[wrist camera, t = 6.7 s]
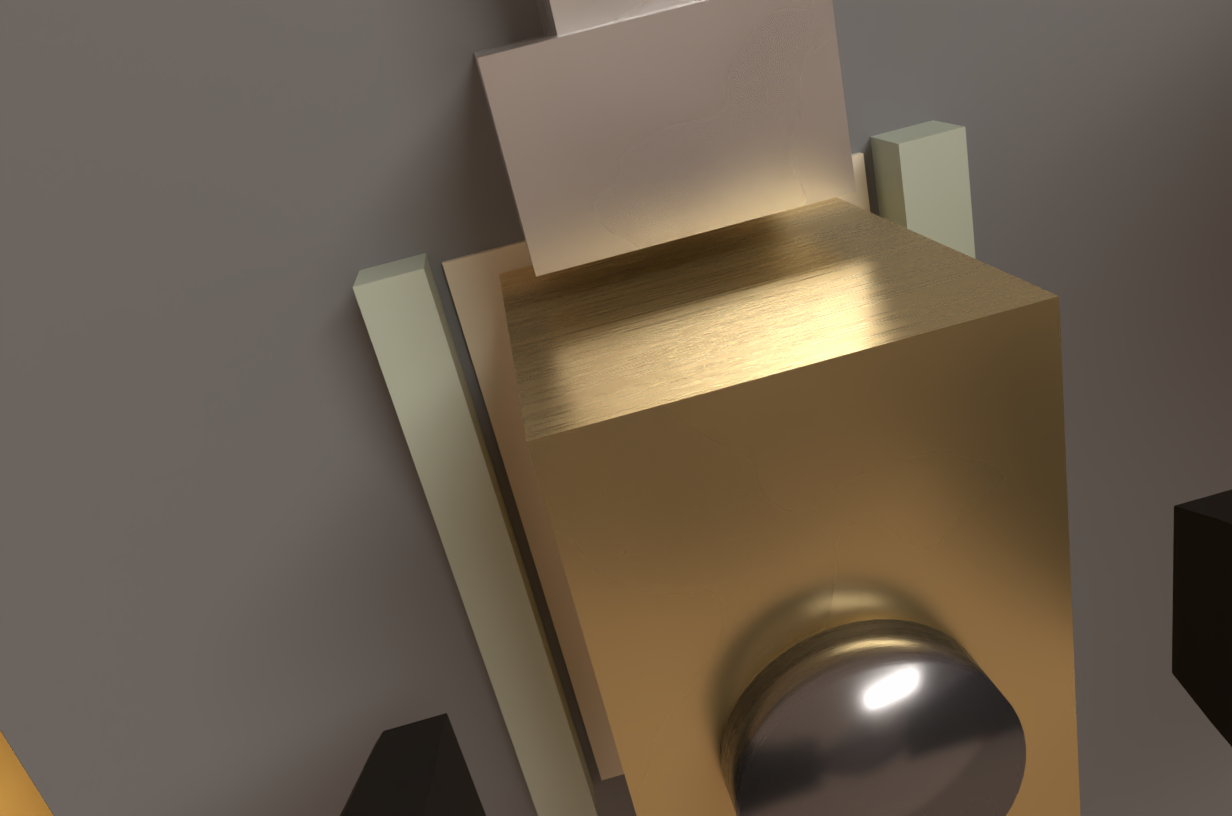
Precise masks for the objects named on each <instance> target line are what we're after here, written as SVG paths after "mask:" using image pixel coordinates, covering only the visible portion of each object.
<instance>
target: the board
mask: <svg viewBox="0 0 1232 816" xmlns="http://www.w3.org/2000/svg"><path fill="white" fill-rule="evenodd" d="M832 3H833V11H834V19H835V27H836V35H837V43H838V51H839V59H840V67H841V75H842V83H843V91H844V99H845V107H846V115H847V123H848V131H849V139H850V147H851V155H852V163H853V171H854V179H855V186H856V192H854V193H850V194H846V195H843V196H839V197H837V198H839V199H842V200H844V201H846V202H848V203H851V204H853V205H855V206H857V207H860V208H862V209H864V210H866V211H869V212H871V213H873V214H875V215H878V216H880V217H882V218H884V219H887V220H889V221H891V222H893V223H896V224H898V225H900V226H902V227H905V228H907V229H909V230H911V231H914V232H916V233H918V234H920V235H923V236H925V237H927V238H929V239H932V240H934V241H936V242H938V243H941V244H943V245H945V246H947V247H950V248H952V249H954V250H956V251H959V252H961V253H963V254H965V255H968V256H970V257H972V258H974V259H977V260H979V261H981V262H983V263H986V264H988V265H990V266H992V267H995V268H997V269H999V270H1001V271H1004V272H1006V273H1008V274H1010V275H1013V276H1015V277H1017V278H1019V279H1022V280H1024V281H1026V282H1029V283H1031V284H1033V285H1035V286H1038V287H1040V288H1042V289H1044V290H1047V291H1049V292H1051V293H1053V294H1056V295H1058V296H1059V299H1060V324H1061V348H1062V373H1063V398H1064V422H1065V447H1066V472H1067V496H1068V521H1069V546H1070V570H1071V595H1072V619H1073V644H1074V669H1075V693H1076V718H1077V743H1078V767H1079V792H1080V816H1232V747H1231V746H1230V744H1229V743H1228V742H1227V741H1226V740H1225V738H1224V737H1223V736H1222V735H1221V734H1220V733H1219V731H1218V730H1217V729H1216V728H1215V727H1214V725H1213V724H1212V723H1211V722H1210V721H1209V719H1208V718H1207V717H1206V716H1205V714H1204V713H1203V712H1202V710H1201V709H1200V708H1199V707H1198V705H1197V704H1196V703H1195V702H1194V700H1193V699H1192V698H1191V696H1190V695H1189V694H1188V693H1187V691H1186V690H1185V689H1184V688H1183V686H1182V685H1181V684H1180V682H1179V681H1178V680H1177V679H1176V677H1175V676H1174V675H1173V674H1172V617H1173V532H1174V506H1175V505H1179V504H1182V503H1186V502H1189V501H1193V500H1196V499H1200V498H1203V497H1207V496H1210V495H1214V494H1217V493H1221V492H1224V491H1228V490H1231V489H1232V0H832ZM543 34H544V33H543V29H542V25H541V21H540V17H539V12H538V8H537V4H536V0H0V731H1V732H2V734H3V735H4V737H5V739H6V740H7V742H8V743H9V745H10V747H11V748H12V750H13V751H14V753H15V755H16V756H17V758H18V759H19V761H20V763H21V764H22V766H23V767H24V769H25V771H26V772H27V774H28V775H29V777H30V778H31V780H32V782H33V783H34V785H35V786H36V788H37V790H38V791H39V793H40V794H41V796H42V798H43V799H44V801H45V802H46V804H47V806H48V807H49V809H50V810H51V812H52V814H53V815H54V816H340V814H341V812H342V810H343V808H344V806H345V804H346V802H347V800H348V798H349V796H350V794H351V792H352V790H353V788H354V786H355V784H356V782H357V780H358V778H359V776H360V773H361V771H362V769H363V767H364V765H365V763H366V761H367V759H368V757H369V755H370V753H371V751H372V749H373V747H374V745H375V743H376V742H377V740H378V738H379V737H380V735H381V734H382V732H383V731H385V730H389V729H392V728H396V727H399V726H403V725H406V724H410V723H413V722H417V721H420V720H424V719H427V718H431V717H434V716H438V715H441V714H445V713H447V714H448V717H449V720H450V722H451V725H452V728H453V730H454V733H455V735H456V738H457V741H458V743H459V746H460V749H461V751H462V754H463V756H464V759H465V762H466V764H467V767H468V769H469V772H470V775H471V777H472V780H473V783H474V785H475V788H476V790H477V793H478V796H479V798H480V801H481V804H482V806H483V809H484V811H485V814H486V816H637V815H636V812H635V809H634V805H633V802H632V798H631V795H630V792H629V788H628V785H627V781H626V778H625V775H624V771H623V768H622V764H621V761H620V758H619V754H618V751H617V747H616V744H615V740H614V737H613V734H612V730H611V727H610V723H609V720H608V717H607V713H606V710H605V706H604V703H603V700H602V696H601V693H600V689H599V686H598V683H597V679H596V676H595V672H594V669H593V666H592V662H591V659H590V655H589V652H588V649H587V645H586V642H585V638H584V635H583V631H582V628H581V625H580V621H579V618H578V614H577V611H576V608H575V604H574V601H573V597H572V594H571V591H570V587H569V584H568V580H567V577H566V574H565V570H564V567H563V563H562V560H561V557H560V553H559V550H558V546H557V543H556V540H555V536H554V533H553V529H552V526H551V522H550V519H549V516H548V512H547V509H546V505H545V502H544V499H543V495H542V492H541V488H540V485H539V482H538V478H537V475H536V471H535V468H534V465H533V461H532V458H531V454H530V451H529V448H528V444H527V440H526V434H525V428H524V422H523V416H522V410H521V404H520V397H519V391H518V385H517V379H516V373H515V367H514V361H513V355H512V349H511V343H510V337H509V331H508V325H507V319H506V313H505V307H504V300H503V294H502V288H501V282H500V276H499V274H501V273H505V272H509V271H512V270H516V269H520V268H524V267H528V266H531V265H532V262H531V259H530V255H529V252H528V249H527V246H526V243H525V239H524V236H523V233H522V230H521V226H520V223H519V219H518V215H517V212H516V208H515V204H514V201H513V197H512V193H511V189H510V186H509V182H508V178H507V175H506V171H505V167H504V164H503V160H502V156H501V152H500V149H499V145H498V141H497V138H496V134H495V130H494V127H493V123H492V119H491V115H490V112H489V108H488V104H487V101H486V97H485V93H484V90H483V86H482V82H481V78H480V75H479V71H478V67H477V64H476V60H475V56H474V53H473V52H476V51H480V50H484V49H488V48H492V47H496V46H500V45H504V44H508V43H512V42H516V41H520V40H524V39H528V38H532V37H536V36H539V35H543Z"/></svg>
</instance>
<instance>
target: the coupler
mask: <svg viewBox="0 0 1232 816" xmlns="http://www.w3.org/2000/svg"><path fill="white" fill-rule="evenodd" d="M499 276H500V282H501V288H502V294H503V300H504V307H505V313H506V319H507V325H508V331H509V337H510V343H511V349H512V355H513V361H514V367H515V373H516V379H517V385H518V391H519V397H520V404H521V410H522V416H523V422H524V428H525V434H526V440H527V444H528V448H529V451H530V454H531V458H532V461H533V465H534V468H535V471H536V475H537V478H538V482H539V485H540V488H541V492H542V495H543V499H544V502H545V505H546V509H547V512H548V516H549V519H550V522H551V526H552V529H553V533H554V536H555V540H556V543H557V546H558V550H559V553H560V557H561V560H562V563H563V567H564V570H565V574H566V577H567V580H568V584H569V587H570V591H571V594H572V597H573V601H574V604H575V608H576V611H577V614H578V618H579V621H580V625H581V628H582V631H583V635H584V638H585V642H586V645H587V649H588V652H589V655H590V659H591V662H592V666H593V669H594V672H595V676H596V679H597V683H598V686H599V689H600V693H601V696H602V700H603V703H604V706H605V710H606V713H607V717H608V720H609V723H610V727H611V730H612V734H613V737H614V740H615V744H616V747H617V751H618V754H619V758H620V761H621V764H622V768H623V771H624V775H625V778H626V781H627V785H628V788H629V792H630V795H631V798H632V802H633V805H634V809H635V812H636V815H637V816H1080V792H1079V767H1078V743H1077V718H1076V693H1075V669H1074V644H1073V619H1072V595H1071V570H1070V546H1069V521H1068V496H1067V472H1066V447H1065V422H1064V398H1063V373H1062V348H1061V324H1060V299H1059V296H1058V295H1056V294H1053V293H1051V292H1049V291H1047V290H1044V289H1042V288H1040V287H1038V286H1035V285H1033V284H1031V283H1029V282H1026V281H1024V280H1022V279H1019V278H1017V277H1015V276H1013V275H1010V274H1008V273H1006V272H1004V271H1001V270H999V269H997V268H995V267H992V266H990V265H988V264H986V263H983V262H981V261H979V260H977V259H974V258H972V257H970V256H968V255H965V254H963V253H961V252H959V251H956V250H954V249H952V248H950V247H947V246H945V245H943V244H941V243H938V242H936V241H934V240H932V239H929V238H927V237H925V236H923V235H920V234H918V233H916V232H914V231H911V230H909V229H907V228H905V227H902V226H900V225H898V224H896V223H893V222H891V221H889V220H887V219H884V218H882V217H880V216H878V215H875V214H873V213H871V212H869V211H866V210H864V209H862V208H860V207H857V206H855V205H853V204H851V203H848V202H846V201H844V200H842V199H839V198H837V197H835V198H831V199H828V200H824V201H820V202H816V203H812V204H809V205H805V206H801V207H797V208H794V209H790V210H786V211H782V212H778V213H775V214H771V215H767V216H763V217H760V218H756V219H752V220H748V221H744V222H741V223H737V224H733V225H729V226H726V227H722V228H718V229H714V230H710V231H707V232H703V233H699V234H695V235H692V236H688V237H684V238H680V239H676V240H673V241H669V242H665V243H661V244H658V245H654V246H650V247H646V248H642V249H639V250H635V251H631V252H627V253H624V254H620V255H616V256H612V257H608V258H605V259H601V260H597V261H593V262H590V263H586V264H582V265H578V266H574V267H571V268H567V269H563V270H559V271H556V272H552V273H548V274H544V275H540V276H537V277H536V275H535V271H534V268H533V265H531V266H528V267H524V268H520V269H516V270H512V271H509V272H505V273H501V274H499Z"/></svg>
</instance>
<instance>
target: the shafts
mask: <svg viewBox="0 0 1232 816" xmlns="http://www.w3.org/2000/svg"><path fill="white" fill-rule="evenodd" d="M536 4H537V8H538V12H539V17H540V21H541V25H542V29H543V33H544V34H543V35H539V36H536V37H532V38H528V39H524V40H520V41H516V42H512V43H508V44H504V45H500V46H496V47H492V48H488V49H484V50H480V51H476V52H473V53H474V56H475V60H476V64H477V67H478V71H479V75H480V78H481V82H482V86H483V90H484V93H485V97H486V101H487V104H488V108H489V112H490V115H491V119H492V123H493V127H494V130H495V134H496V138H497V141H498V145H499V149H500V152H501V156H502V160H503V164H504V167H505V171H506V175H507V178H508V182H509V186H510V189H511V193H512V197H513V201H514V204H515V208H516V212H517V215H518V219H519V223H520V226H521V230H522V233H523V236H524V239H525V243H526V246H527V249H528V252H529V255H530V259H531V262H532V265H533V268H534V271H535V275H536V277H537V276H540V275H544V274H548V273H552V272H556V271H559V270H563V269H567V268H571V267H574V266H578V265H582V264H586V263H590V262H593V261H597V260H601V259H605V258H608V257H612V256H616V255H620V254H624V253H627V252H631V251H635V250H639V249H642V248H646V247H650V246H654V245H658V244H661V243H665V242H669V241H673V240H676V239H680V238H684V237H688V236H692V235H695V234H699V233H703V232H707V231H710V230H714V229H718V228H722V227H726V226H729V225H733V224H737V223H741V222H744V221H748V220H752V219H756V218H760V217H763V216H767V215H771V214H775V213H778V212H782V211H786V210H790V209H794V208H797V207H801V206H805V205H809V204H812V203H816V202H820V201H824V200H828V199H831V198H835V197H839V196H843V195H846V194H850V193H854V192H856V186H855V179H854V171H853V163H852V155H851V147H850V139H849V131H848V123H847V115H846V107H845V99H844V91H843V83H842V75H841V67H840V59H839V51H838V43H837V35H836V27H835V19H834V11H833V3H832V0H536Z"/></svg>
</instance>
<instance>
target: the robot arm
mask: <svg viewBox="0 0 1232 816" xmlns="http://www.w3.org/2000/svg"><path fill="white" fill-rule="evenodd" d="M1172 674H1173V675H1174V676H1175V677H1176V679H1177V680H1178V681H1179V682H1180V684H1181V685H1182V686H1183V688H1184V689H1185V690H1186V691H1187V693H1188V694H1189V695H1190V696H1191V698H1192V699H1193V700H1194V702H1195V703H1196V704H1197V705H1198V707H1199V708H1200V709H1201V710H1202V712H1203V713H1204V714H1205V716H1206V717H1207V718H1208V719H1209V721H1210V722H1211V723H1212V724H1213V725H1214V727H1215V728H1216V729H1217V730H1218V731H1219V733H1220V734H1221V735H1222V736H1223V737H1224V738H1225V740H1226V741H1227V742H1228V743H1229V744H1230V746H1231V747H1232V489H1231V490H1228V491H1224V492H1221V493H1217V494H1214V495H1210V496H1207V497H1203V498H1200V499H1196V500H1193V501H1189V502H1186V503H1182V504H1179V505H1175V506H1174V532H1173V617H1172ZM340 816H486V814H485V811H484V809H483V806H482V804H481V801H480V798H479V796H478V793H477V790H476V788H475V785H474V783H473V780H472V777H471V775H470V772H469V769H468V767H467V764H466V762H465V759H464V756H463V754H462V751H461V749H460V746H459V743H458V741H457V738H456V735H455V733H454V730H453V728H452V725H451V722H450V720H449V717H448V714H447V713H445V714H441V715H438V716H434V717H431V718H427V719H424V720H420V721H417V722H413V723H410V724H406V725H403V726H399V727H396V728H392V729H389V730H385V731H383V732H382V734H381V735H380V737H379V738H378V740H377V742H376V743H375V745H374V747H373V749H372V751H371V753H370V755H369V757H368V759H367V761H366V763H365V765H364V767H363V769H362V771H361V773H360V776H359V778H358V780H357V782H356V784H355V786H354V788H353V790H352V792H351V794H350V796H349V798H348V800H347V802H346V804H345V806H344V808H343V810H342V812H341V814H340Z"/></svg>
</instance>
